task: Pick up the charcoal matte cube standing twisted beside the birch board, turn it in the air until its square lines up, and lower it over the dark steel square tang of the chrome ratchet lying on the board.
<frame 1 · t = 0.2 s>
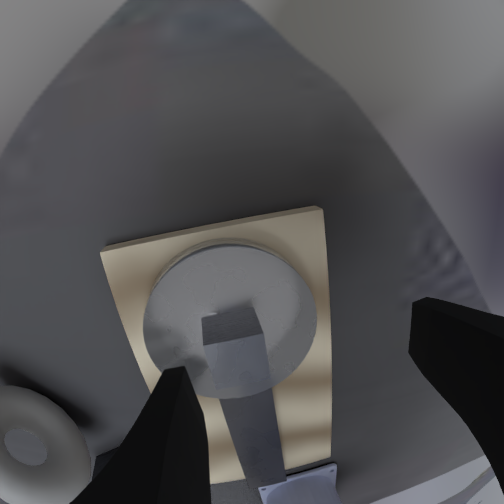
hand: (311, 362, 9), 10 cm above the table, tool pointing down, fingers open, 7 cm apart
board: (242, 381, 21), on the table
donut: (45, 400, 19), on the table
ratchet: (245, 392, 20), resting on board
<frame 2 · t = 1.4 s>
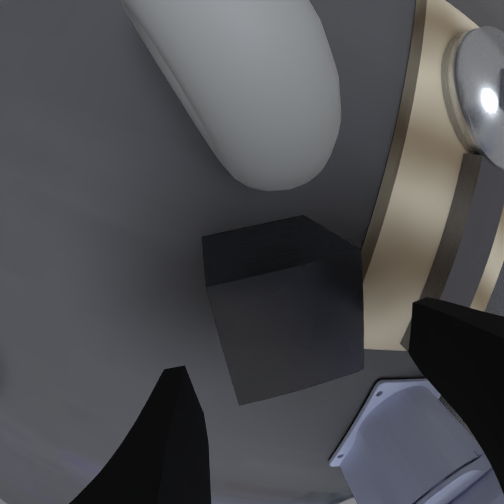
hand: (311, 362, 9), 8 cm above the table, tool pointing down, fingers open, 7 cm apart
board: (460, 183, 17), on the table
donut: (209, 84, 13), on the table
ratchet: (473, 186, 16), resting on board
charcoal matte cube: (262, 273, 16), on the table
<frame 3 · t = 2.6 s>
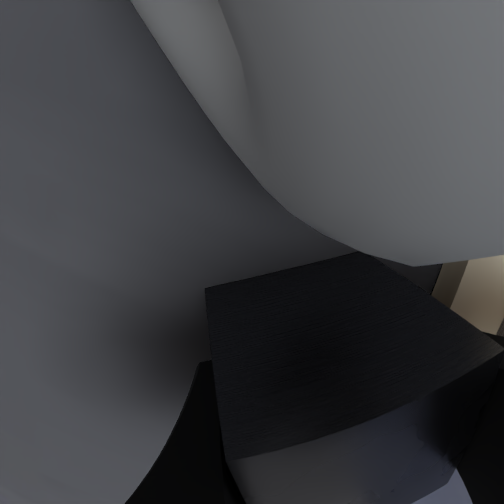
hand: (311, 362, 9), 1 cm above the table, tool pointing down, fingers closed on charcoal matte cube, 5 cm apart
donut: (216, 38, 7), on the table
charcoal matte cube: (297, 338, 10), on the table, touching gripper
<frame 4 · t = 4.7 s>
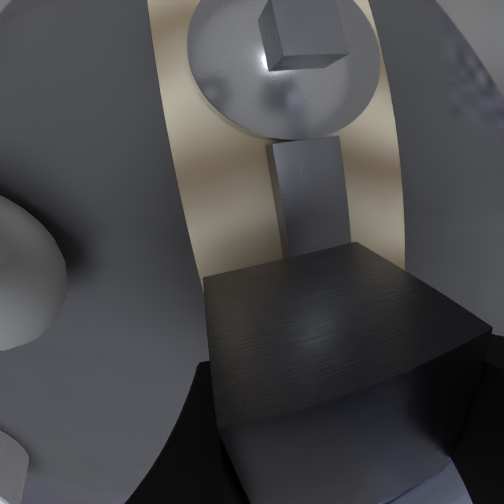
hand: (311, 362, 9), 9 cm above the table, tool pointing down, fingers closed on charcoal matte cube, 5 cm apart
board: (294, 168, 17), on the table
donut: (24, 228, 15), on the table
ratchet: (301, 169, 16), resting on board
shot glass: (5, 445, 20), on the table
charcoal matte cube: (293, 327, 11), point 8 cm above the table, touching gripper
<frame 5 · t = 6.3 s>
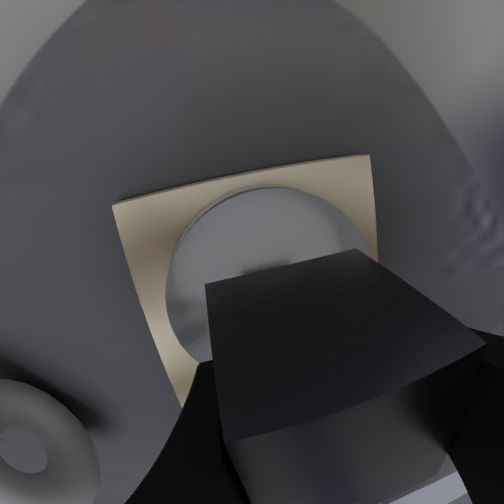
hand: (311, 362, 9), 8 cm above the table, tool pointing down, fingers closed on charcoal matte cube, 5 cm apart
board: (277, 364, 18), on the table
donut: (45, 396, 17), on the table
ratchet: (282, 376, 17), resting on board
charcoal matte cube: (293, 331, 11), point 6 cm above the table, touching gripper
when the fingers open (6 cm above the table, at t = 7.2 s): charcoal matte cube stays where it is, resting on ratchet.
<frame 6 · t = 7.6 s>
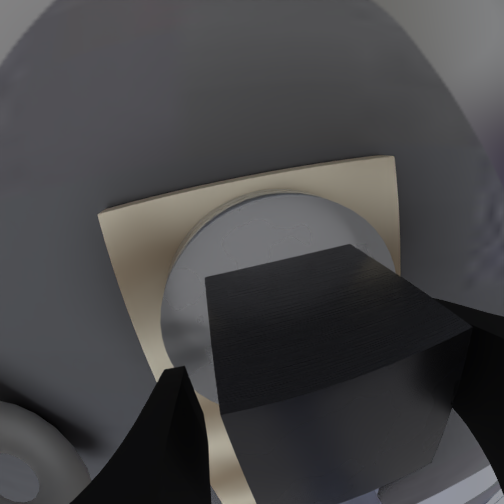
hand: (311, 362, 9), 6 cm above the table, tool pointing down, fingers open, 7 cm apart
board: (286, 386, 16), on the table
donut: (36, 416, 15), on the table
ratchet: (292, 401, 15), resting on board
charcoal matte cube: (290, 324, 11), point 3 cm above the table, touching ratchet
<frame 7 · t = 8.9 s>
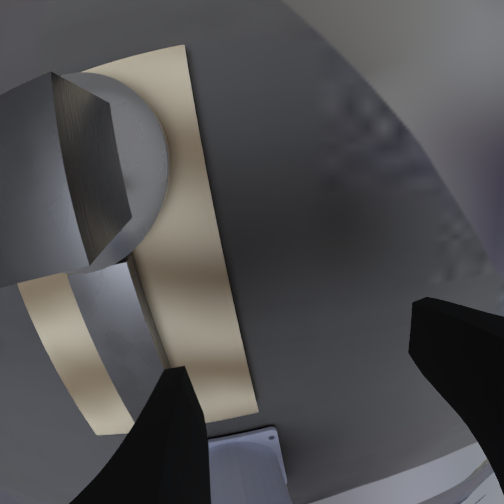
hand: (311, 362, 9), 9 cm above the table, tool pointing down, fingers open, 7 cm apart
board: (117, 276, 17), on the table
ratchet: (112, 285, 16), resting on board
charcoal matte cube: (67, 175, 12), point 3 cm above the table, touching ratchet
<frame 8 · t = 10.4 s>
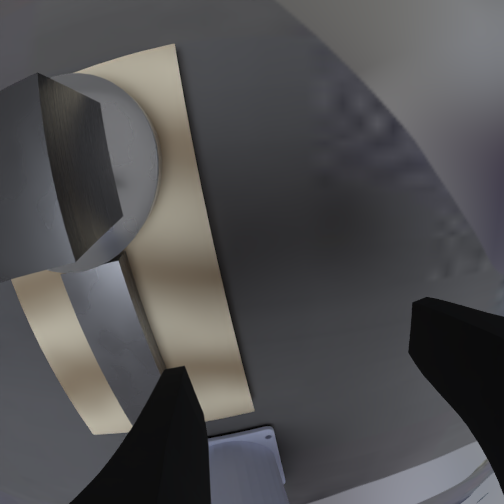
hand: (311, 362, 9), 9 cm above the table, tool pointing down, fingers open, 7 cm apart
board: (111, 275, 17), on the table
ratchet: (106, 284, 16), resting on board
charcoal matte cube: (59, 175, 12), point 3 cm above the table, touching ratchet
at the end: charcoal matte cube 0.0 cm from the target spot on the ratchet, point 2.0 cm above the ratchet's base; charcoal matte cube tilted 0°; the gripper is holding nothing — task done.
